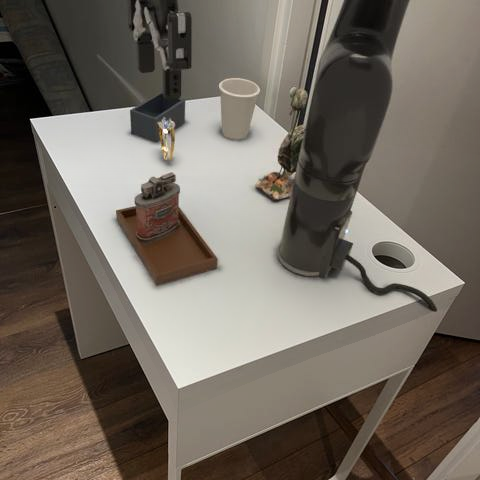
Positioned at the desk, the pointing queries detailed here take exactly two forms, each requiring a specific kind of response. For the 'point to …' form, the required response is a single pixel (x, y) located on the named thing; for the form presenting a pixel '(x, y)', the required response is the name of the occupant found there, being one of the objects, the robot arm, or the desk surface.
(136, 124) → the box
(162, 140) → the ring
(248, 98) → the dixie cup
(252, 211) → the desk surface
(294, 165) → the plant with pod
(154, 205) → the lighter
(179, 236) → the tray
